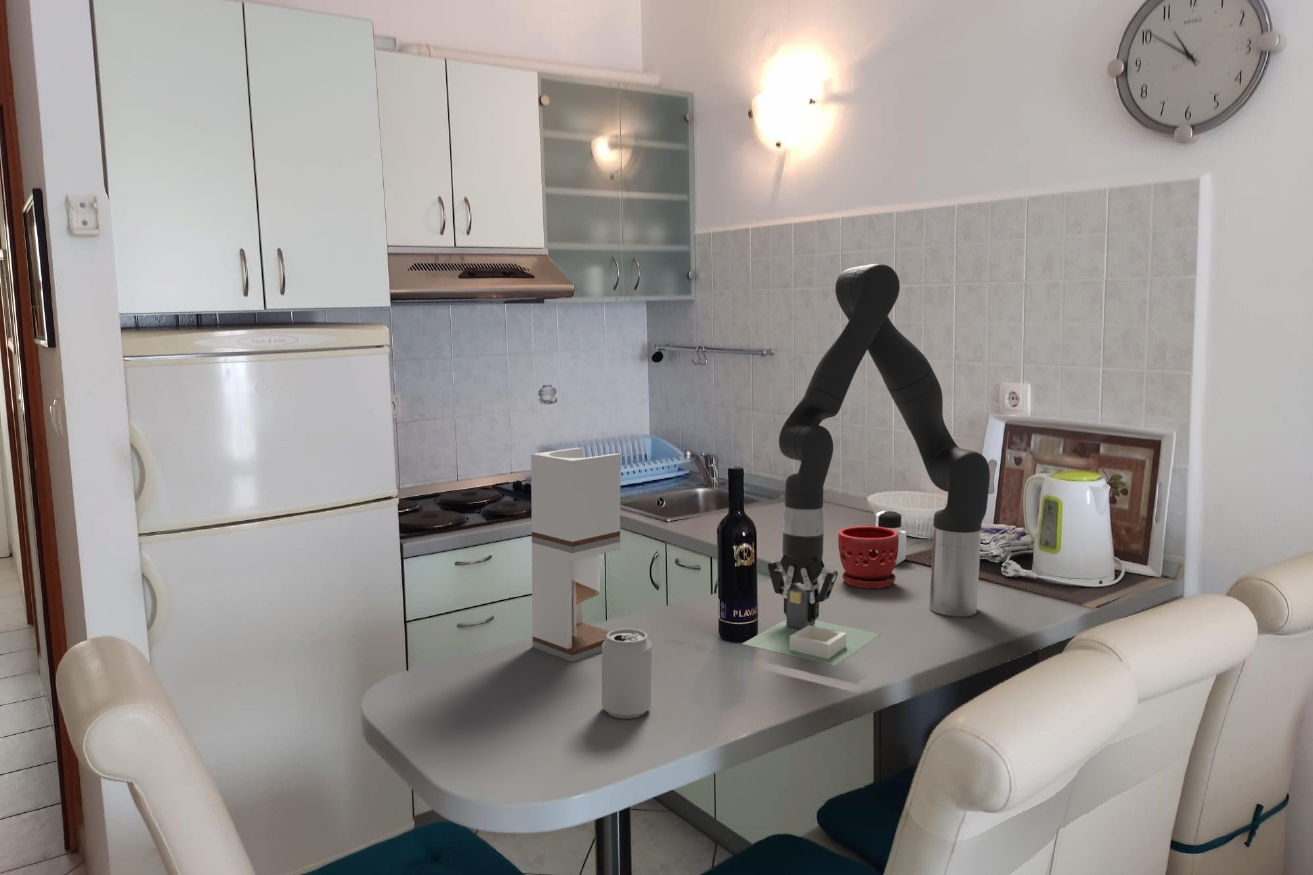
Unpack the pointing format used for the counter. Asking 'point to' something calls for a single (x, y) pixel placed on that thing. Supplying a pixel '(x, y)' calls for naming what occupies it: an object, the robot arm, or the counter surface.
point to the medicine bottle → (893, 522)
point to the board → (813, 641)
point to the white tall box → (571, 545)
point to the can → (626, 673)
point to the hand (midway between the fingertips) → (800, 618)
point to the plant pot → (868, 555)
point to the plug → (798, 607)
